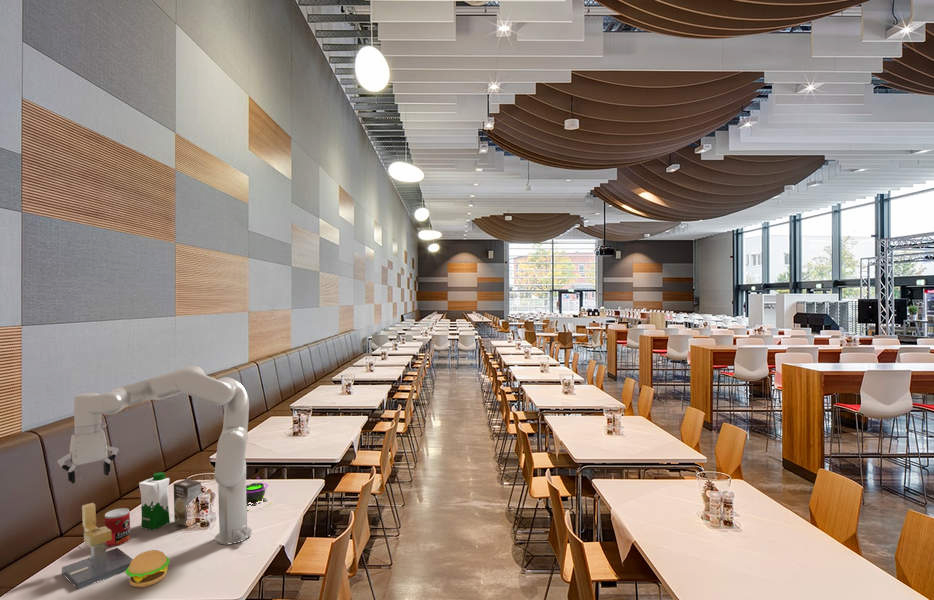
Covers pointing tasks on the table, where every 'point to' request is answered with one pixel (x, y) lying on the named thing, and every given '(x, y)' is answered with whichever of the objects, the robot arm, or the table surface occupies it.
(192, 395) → the robot arm
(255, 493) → the toy cauldron
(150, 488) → the milk carton
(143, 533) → the table surface
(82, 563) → the grey slotted plate
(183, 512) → the coffee box
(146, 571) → the hamburger
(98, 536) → the wooden zigzag joint
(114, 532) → the canned food
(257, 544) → the table surface
